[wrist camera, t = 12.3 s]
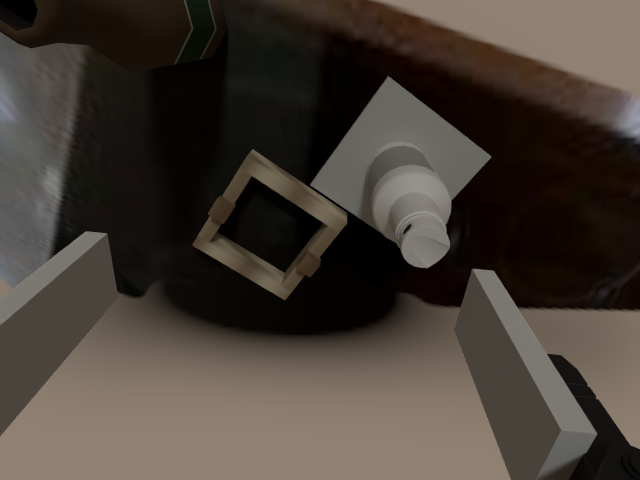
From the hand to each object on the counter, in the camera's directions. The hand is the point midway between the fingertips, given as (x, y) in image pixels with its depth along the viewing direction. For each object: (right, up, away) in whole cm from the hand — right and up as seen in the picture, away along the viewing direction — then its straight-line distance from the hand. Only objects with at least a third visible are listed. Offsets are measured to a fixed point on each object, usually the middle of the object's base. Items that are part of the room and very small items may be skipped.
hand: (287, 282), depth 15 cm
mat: (+10, +9, +31) cm, 34 cm away
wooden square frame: (-5, +4, +35) cm, 35 cm away
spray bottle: (+10, +9, +30) cm, 33 cm away
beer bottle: (-11, +23, +25) cm, 36 cm away
